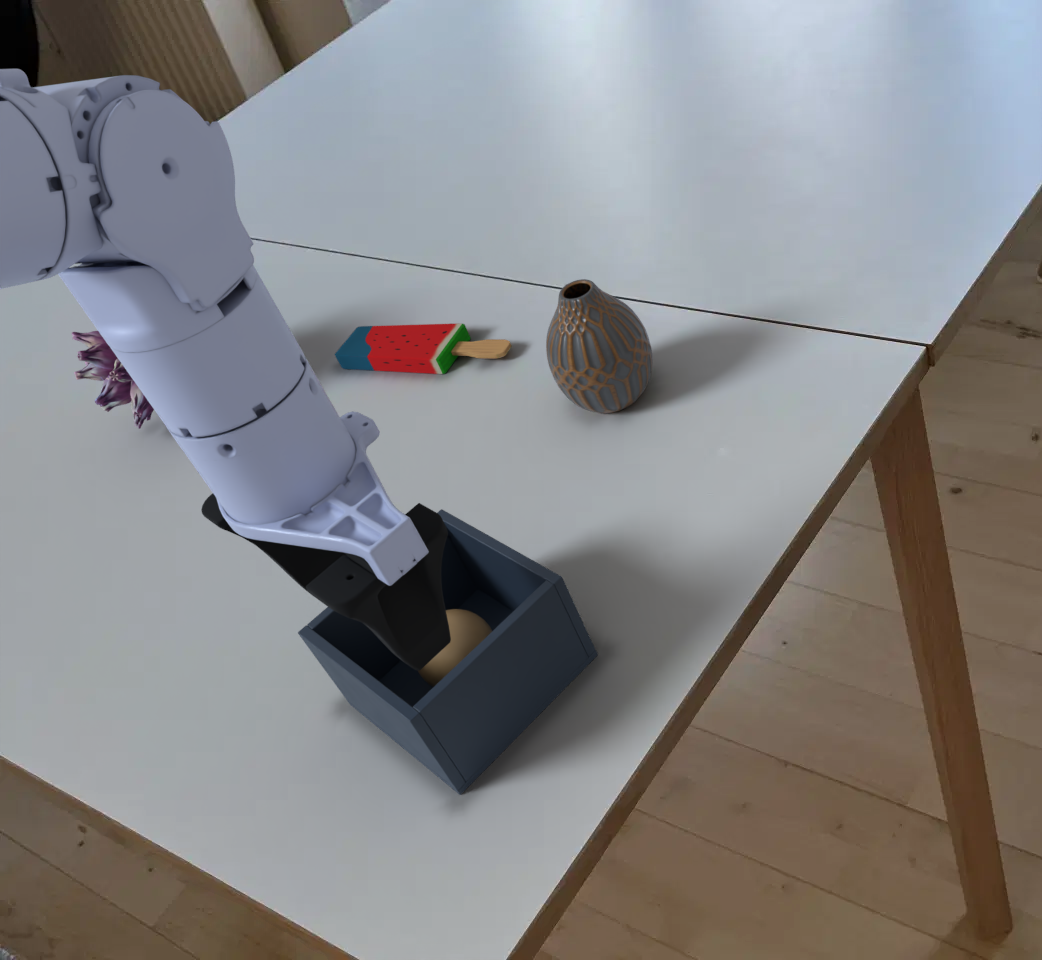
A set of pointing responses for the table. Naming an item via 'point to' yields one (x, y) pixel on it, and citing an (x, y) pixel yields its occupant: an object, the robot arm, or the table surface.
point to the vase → (597, 349)
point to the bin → (465, 659)
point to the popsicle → (414, 348)
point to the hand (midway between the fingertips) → (381, 618)
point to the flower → (110, 377)
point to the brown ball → (456, 644)
